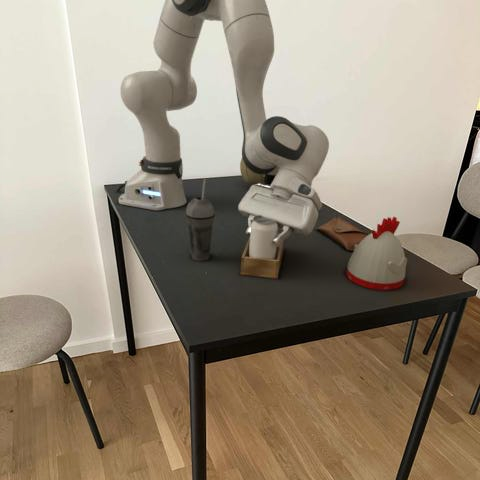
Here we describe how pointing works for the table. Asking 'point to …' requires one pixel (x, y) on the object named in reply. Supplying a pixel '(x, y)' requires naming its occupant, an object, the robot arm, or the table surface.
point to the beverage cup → (200, 226)
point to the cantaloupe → (251, 174)
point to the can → (263, 238)
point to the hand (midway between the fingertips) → (262, 239)
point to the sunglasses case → (343, 233)
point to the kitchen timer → (379, 259)
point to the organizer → (261, 263)
